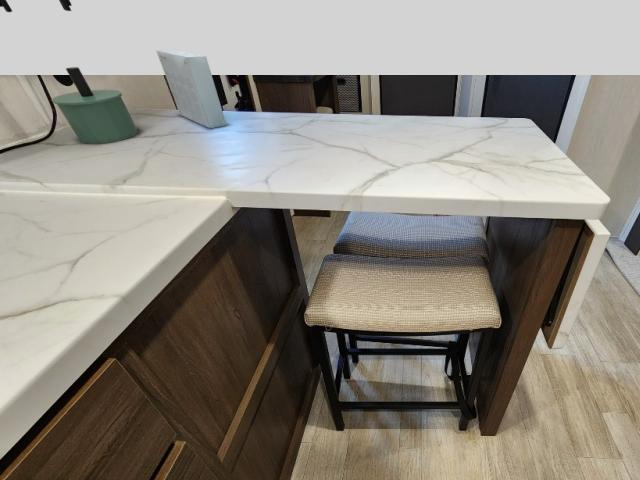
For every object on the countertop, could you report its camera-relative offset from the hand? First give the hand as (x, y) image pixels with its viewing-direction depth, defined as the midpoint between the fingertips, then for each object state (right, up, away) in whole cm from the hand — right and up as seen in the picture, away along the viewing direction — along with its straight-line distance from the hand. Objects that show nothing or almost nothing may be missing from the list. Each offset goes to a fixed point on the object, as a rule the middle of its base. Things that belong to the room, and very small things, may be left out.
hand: (39, 11), depth 68 cm
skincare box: (+18, -8, +28) cm, 34 cm away
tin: (0, -18, +17) cm, 24 cm away
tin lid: (0, -12, +11) cm, 16 cm away
